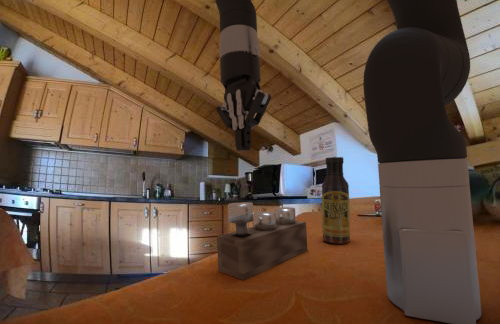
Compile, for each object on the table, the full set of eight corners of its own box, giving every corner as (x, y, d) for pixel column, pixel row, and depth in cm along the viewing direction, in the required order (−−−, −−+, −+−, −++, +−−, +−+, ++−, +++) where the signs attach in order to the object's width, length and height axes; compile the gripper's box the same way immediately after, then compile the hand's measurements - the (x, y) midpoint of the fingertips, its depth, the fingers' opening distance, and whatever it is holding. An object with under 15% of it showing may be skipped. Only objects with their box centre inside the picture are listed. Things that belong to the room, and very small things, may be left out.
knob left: (247, 248, 41) (245, 205, 42) (224, 246, 43) (223, 205, 43) (258, 241, 45) (256, 202, 45) (237, 239, 47) (235, 202, 47)
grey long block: (283, 245, 58) (281, 219, 58) (307, 250, 53) (305, 221, 53) (218, 270, 44) (216, 236, 44) (243, 280, 39) (242, 241, 40)
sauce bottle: (322, 244, 57) (317, 157, 58) (323, 237, 63) (318, 158, 64) (353, 245, 55) (347, 155, 56) (351, 238, 61) (345, 157, 62)
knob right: (293, 245, 50) (291, 210, 51) (273, 243, 52) (271, 209, 53) (299, 239, 54) (297, 207, 55) (279, 238, 56) (278, 207, 57)
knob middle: (273, 253, 46) (271, 215, 46) (251, 251, 48) (249, 214, 48) (281, 247, 50) (279, 211, 50) (260, 245, 52) (259, 211, 52)
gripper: (202, 65, 49) (205, 153, 48) (250, 37, 40) (255, 145, 39) (231, 74, 54) (235, 154, 54) (280, 51, 45) (284, 147, 44)
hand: (243, 150), depth 46 cm, fingers closed
